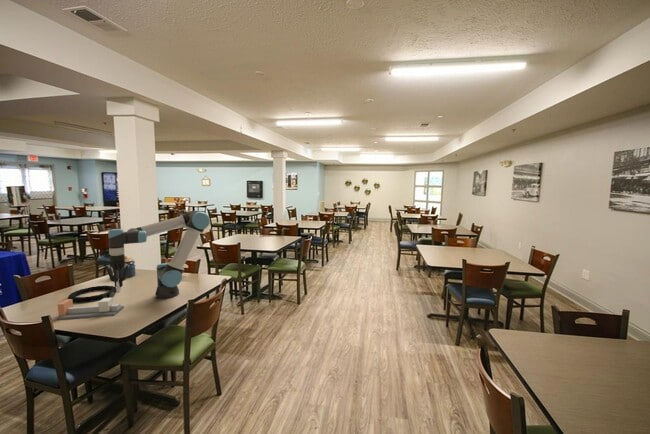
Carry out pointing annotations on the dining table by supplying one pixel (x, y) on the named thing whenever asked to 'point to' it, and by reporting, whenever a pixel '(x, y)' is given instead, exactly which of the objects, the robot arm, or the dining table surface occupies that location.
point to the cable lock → (92, 298)
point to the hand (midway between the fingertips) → (119, 292)
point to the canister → (131, 269)
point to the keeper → (105, 304)
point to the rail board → (90, 314)
